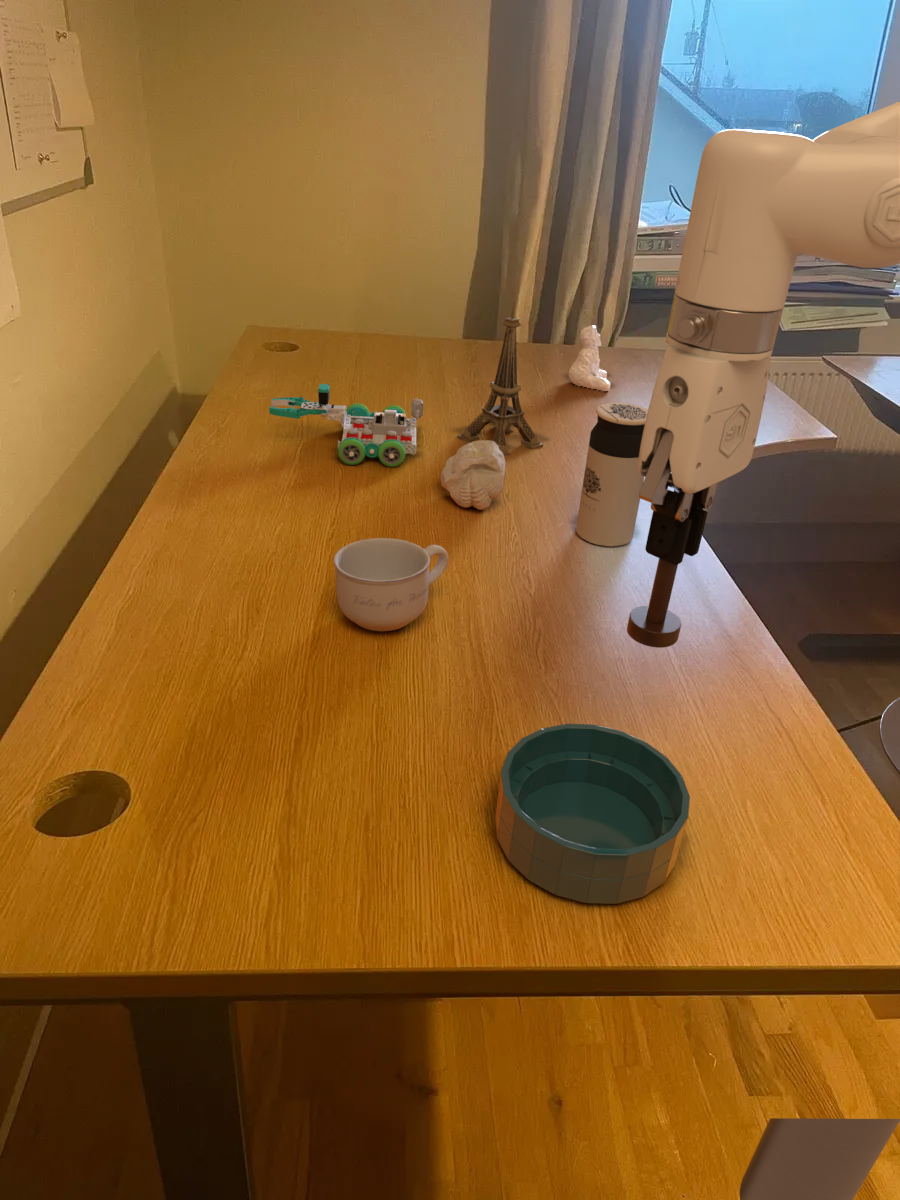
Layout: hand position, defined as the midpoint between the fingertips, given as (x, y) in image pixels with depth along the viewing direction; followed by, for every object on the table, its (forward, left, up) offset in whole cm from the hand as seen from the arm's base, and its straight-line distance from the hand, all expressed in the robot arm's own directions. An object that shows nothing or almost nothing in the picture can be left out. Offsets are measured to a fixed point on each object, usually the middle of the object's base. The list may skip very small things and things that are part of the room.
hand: (671, 552), depth 73 cm
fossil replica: (+12, -57, -23) cm, 62 cm away
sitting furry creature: (-15, -116, -23) cm, 119 cm away
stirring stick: (0, 0, -8) cm, 8 cm away
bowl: (+6, +10, -22) cm, 25 cm away
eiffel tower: (+6, -81, -23) cm, 84 cm away
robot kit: (+32, -76, -23) cm, 85 cm away
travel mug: (-6, -47, -23) cm, 53 cm away
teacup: (+23, -24, -23) cm, 40 cm away
